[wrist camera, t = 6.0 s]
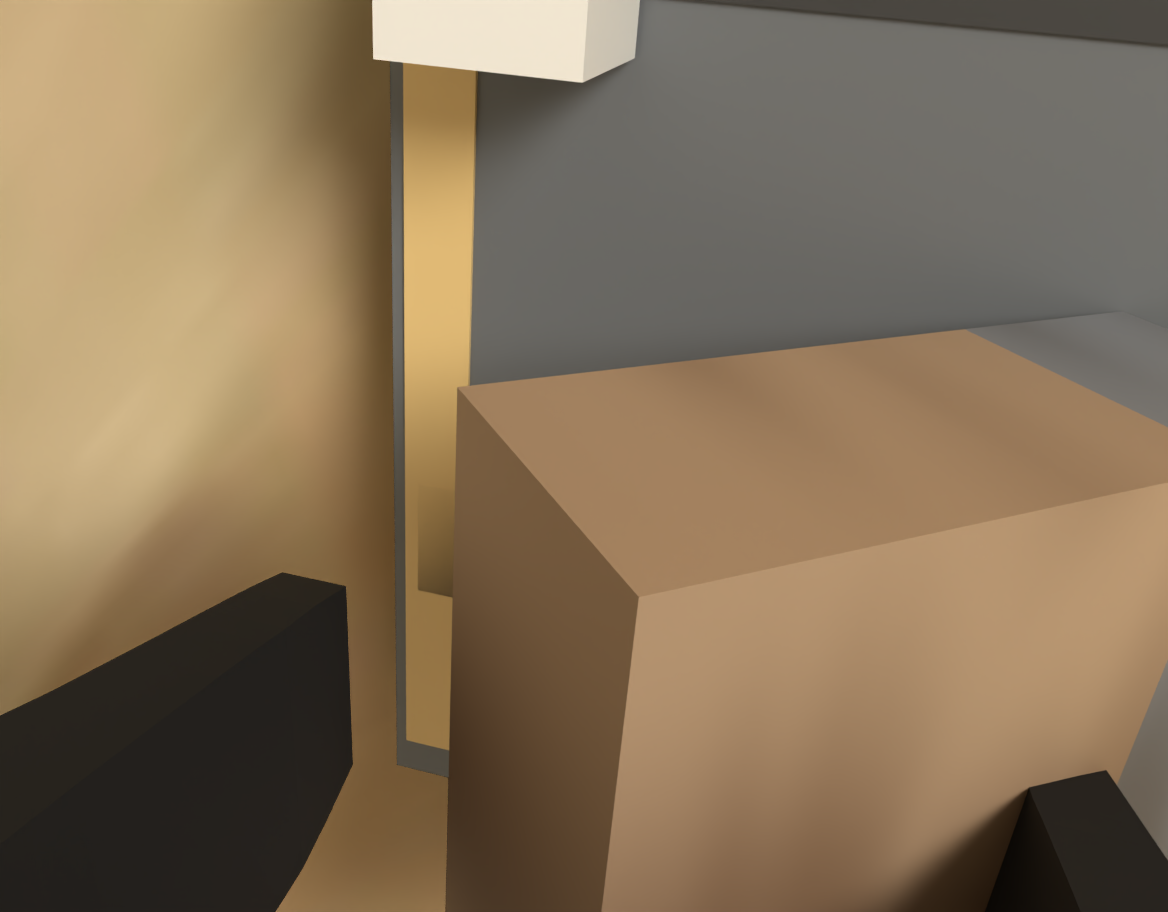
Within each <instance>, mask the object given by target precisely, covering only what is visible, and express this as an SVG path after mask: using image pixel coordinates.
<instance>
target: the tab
mask: <svg viewBox="0 0 1168 912" xmlns="http://www.w3.org/2000/svg"><path fill="white" fill-rule="evenodd" d="M639 5H640V0H372V15H373V59H376V60H385V61H394V62H403V63H412V64H420V65H429V66H438V67H447V68H456V69H465V70H474V71H483V72H492V73H501V74H510V75H519V76H527V77H536V78H545V79H554V80H563V81H572V82H581V83H583V82H585V81H587V80H589V79H592V78H594V77H596V76H598V75H600V74H602V73H604V72H606V71H609V70H611V69H613V68H615V67H617V66H619V65H621V64H624V63H626V62H628V61H630V60H632V59H634V58H635V50H636V39H637V27H638V16H639Z"/></svg>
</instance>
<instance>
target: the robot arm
mask: <svg viewBox="0 0 1168 912" xmlns="http://www.w3.org/2000/svg"><path fill="white" fill-rule="evenodd" d="M352 765H353V759H352V732H351V706H350V679H349V653H348V626H347V600H346V586H342V585H338V584H333V583H328V582H324V581H319V580H314V579H310V578H305V577H301V576H296V575H291V574H287V573H280V574H278V575H276V576H274V577H271V578H269V579H267V580H265V581H263V582H261V583H258V584H256V585H254V586H252V587H250V588H248V589H246V590H244V591H242V592H240V593H239V594H237V595H235V596H233V597H231V598H229V599H227V600H225V601H223V602H221V603H219V604H217V605H215V606H213V607H212V608H210V609H208V610H206V611H204V612H202V613H200V614H198V615H196V616H195V617H193V618H191V619H189V620H187V621H185V622H183V623H181V624H179V625H178V626H176V627H174V628H172V629H170V630H168V631H166V632H164V633H163V634H161V635H159V636H157V637H155V638H153V639H151V640H149V641H147V642H145V643H144V644H142V645H140V646H138V647H136V648H134V649H132V650H130V651H128V652H126V653H124V654H122V655H120V656H119V657H117V658H115V659H113V660H111V661H109V662H107V663H105V664H103V665H101V666H99V667H97V668H95V669H93V670H92V671H90V672H88V673H86V674H84V675H82V676H80V677H78V678H76V679H74V680H72V681H70V682H68V683H67V684H65V685H63V686H61V687H59V688H57V689H55V690H53V691H51V692H49V693H47V694H45V695H43V696H41V697H39V698H36V699H34V700H32V701H30V702H28V703H26V704H24V705H22V706H20V707H18V708H15V709H13V710H11V711H9V712H7V713H5V714H3V715H1V716H0V912H275V911H276V910H277V908H278V907H279V905H280V904H281V902H282V901H283V899H284V897H285V896H286V894H287V893H288V891H289V889H290V888H291V886H292V885H293V883H294V881H295V880H296V878H297V877H298V875H299V873H300V872H301V870H302V869H303V867H304V865H305V863H306V861H307V859H308V857H309V855H310V853H311V851H312V849H313V847H314V845H315V843H316V841H317V839H318V837H319V835H320V833H321V831H322V829H323V827H324V825H325V823H326V821H327V818H328V816H329V814H330V812H331V810H332V808H333V806H334V803H335V801H336V799H337V797H338V795H339V793H340V791H341V788H342V786H343V784H344V782H345V780H346V778H347V776H348V773H349V771H350V769H351V767H352ZM985 912H1168V859H1167V858H1166V857H1165V855H1164V854H1163V852H1162V851H1161V849H1160V848H1159V846H1158V845H1157V843H1156V842H1155V840H1154V839H1153V837H1152V836H1151V835H1150V833H1149V832H1148V830H1147V829H1146V827H1145V826H1144V824H1143V823H1142V821H1141V820H1140V818H1139V817H1138V815H1137V814H1136V812H1135V811H1134V809H1133V808H1132V807H1131V805H1130V804H1129V802H1128V801H1127V799H1126V798H1125V796H1124V795H1123V793H1122V792H1121V790H1120V789H1119V788H1118V786H1117V785H1116V783H1115V782H1114V780H1113V779H1112V777H1111V776H1110V774H1109V773H1108V772H1107V770H1104V771H1099V772H1094V773H1089V774H1084V775H1080V776H1075V777H1071V778H1067V779H1062V780H1058V781H1054V782H1050V783H1045V784H1041V785H1037V786H1033V787H1029V789H1028V792H1027V795H1026V798H1025V800H1024V803H1023V806H1022V809H1021V812H1020V814H1019V817H1018V820H1017V823H1016V826H1015V828H1014V831H1013V834H1012V837H1011V840H1010V843H1009V845H1008V848H1007V851H1006V854H1005V857H1004V859H1003V862H1002V865H1001V868H1000V871H999V873H998V876H997V879H996V882H995V885H994V887H993V890H992V893H991V896H990V899H989V902H988V904H987V907H986V910H985Z"/></svg>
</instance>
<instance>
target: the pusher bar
mask: <svg viewBox="0 0 1168 912" xmlns="http://www.w3.org/2000/svg"><path fill="white" fill-rule="evenodd" d="M1104 770H1107V772H1108V773H1109V774H1110V776H1111V777H1112V779H1113V780H1114V782H1115V783H1116V785H1117V786H1118V788H1119V789H1120V790H1121V792H1122V793H1123V795H1124V796H1125V798H1126V799H1127V801H1128V802H1129V804H1130V805H1131V807H1132V808H1133V809H1134V811H1135V812H1136V814H1137V815H1138V817H1139V818H1140V820H1141V821H1142V823H1143V824H1144V826H1145V827H1146V829H1147V830H1148V832H1149V833H1150V835H1151V836H1152V837H1153V839H1154V840H1155V842H1156V843H1157V845H1158V846H1159V848H1160V849H1161V851H1162V852H1163V854H1164V855H1165V857H1166V858H1167V859H1168V329H1166V328H1163V327H1161V326H1158V325H1156V324H1153V323H1151V322H1148V321H1146V320H1143V319H1141V318H1138V317H1136V316H1133V315H1131V314H1128V313H1126V312H1123V311H1120V312H1111V313H1102V314H1093V315H1085V316H1076V317H1067V318H1058V319H1050V320H1041V321H1032V322H1023V323H1015V324H1006V325H997V326H988V327H980V328H971V329H962V330H953V331H945V332H936V333H927V334H918V335H910V336H901V337H892V338H883V339H875V340H866V341H857V342H848V343H840V344H831V345H822V346H813V347H804V348H796V349H787V350H778V351H769V352H761V353H752V354H743V355H734V356H726V357H717V358H708V359H699V360H691V361H682V362H673V363H664V364H656V365H647V366H638V367H629V368H621V369H612V370H603V371H594V372H586V373H577V374H568V375H559V376H551V377H542V378H533V379H524V380H516V381H507V382H498V383H489V384H481V385H472V386H463V387H457V423H456V467H455V511H454V556H453V600H452V644H451V689H450V733H449V777H448V822H447V866H446V910H445V912H985V910H986V907H987V904H988V902H989V899H990V896H991V893H992V890H993V887H994V885H995V882H996V879H997V876H998V873H999V871H1000V868H1001V865H1002V862H1003V859H1004V857H1005V854H1006V851H1007V848H1008V845H1009V843H1010V840H1011V837H1012V834H1013V831H1014V828H1015V826H1016V823H1017V820H1018V817H1019V814H1020V812H1021V809H1022V806H1023V803H1024V800H1025V798H1026V795H1027V792H1028V789H1029V787H1033V786H1037V785H1041V784H1045V783H1050V782H1054V781H1058V780H1062V779H1067V778H1071V777H1075V776H1080V775H1084V774H1089V773H1094V772H1099V771H1104Z"/></svg>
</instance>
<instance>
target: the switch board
mask: <svg viewBox="0 0 1168 912" xmlns="http://www.w3.org/2000/svg"><path fill="white" fill-rule="evenodd" d="M390 108H391V208H392V307H393V407H394V507H395V607H396V707H397V765H400V766H404V767H408V768H412V769H416V770H420V771H424V772H428V773H432V774H436V775H440V776H444V777H449V733H450V689H451V644H452V600H453V556H454V511H455V467H456V423H457V387H463V386H472V385H481V384H489V383H498V382H507V381H516V380H524V379H533V378H542V377H551V376H559V375H568V374H577V373H586V372H594V371H603V370H612V369H621V368H629V367H638V366H647V365H656V364H664V363H673V362H682V361H691V360H699V359H708V358H717V357H726V356H734V355H743V354H752V353H761V352H769V351H778V350H787V349H796V348H804V347H813V346H822V345H831V344H840V343H848V342H857V341H866V340H875V339H883V338H892V337H901V336H910V335H918V334H927V333H936V332H945V331H953V330H962V329H971V328H980V327H988V326H997V325H1006V324H1015V323H1023V322H1032V321H1041V320H1050V319H1058V318H1067V317H1076V316H1085V315H1093V314H1102V313H1111V312H1120V311H1123V312H1126V313H1128V314H1131V315H1133V316H1136V317H1138V318H1141V319H1143V320H1146V321H1148V322H1151V323H1153V324H1156V325H1158V326H1161V327H1163V328H1166V329H1168V0H640V5H639V16H638V27H637V39H636V50H635V58H634V59H632V60H630V61H628V62H626V63H624V64H621V65H619V66H617V67H615V68H613V69H611V70H609V71H606V72H604V73H602V74H600V75H598V76H596V77H594V78H592V79H589V80H587V81H585V82H583V83H581V82H572V81H563V80H554V79H545V78H536V77H527V76H519V75H510V74H501V73H492V72H483V71H474V70H465V69H456V68H447V67H438V66H429V65H420V64H412V63H403V62H394V61H390Z"/></svg>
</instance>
